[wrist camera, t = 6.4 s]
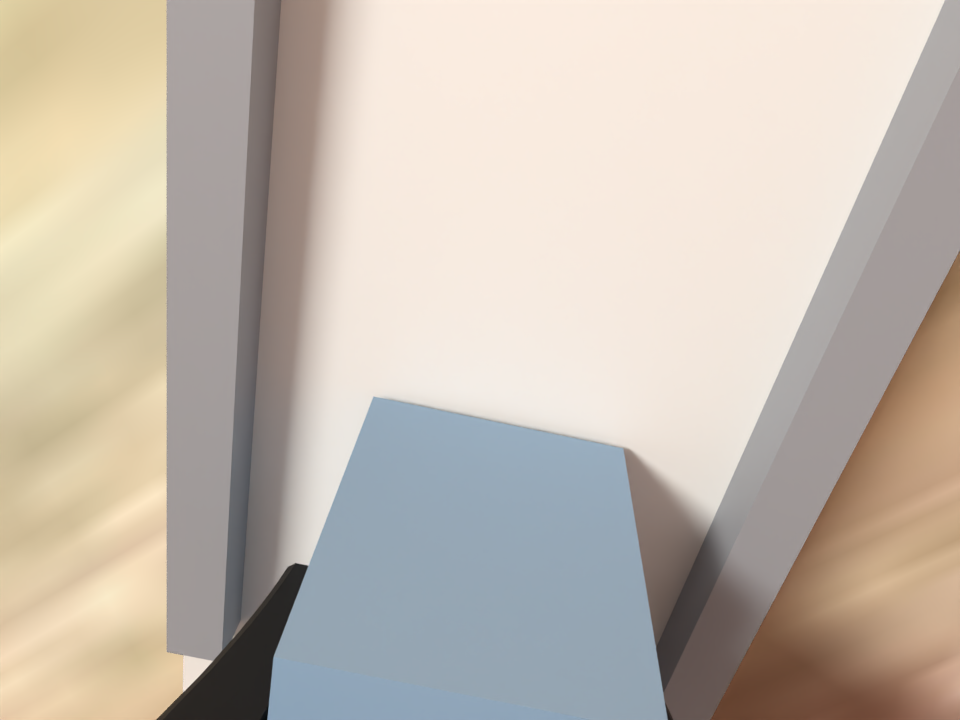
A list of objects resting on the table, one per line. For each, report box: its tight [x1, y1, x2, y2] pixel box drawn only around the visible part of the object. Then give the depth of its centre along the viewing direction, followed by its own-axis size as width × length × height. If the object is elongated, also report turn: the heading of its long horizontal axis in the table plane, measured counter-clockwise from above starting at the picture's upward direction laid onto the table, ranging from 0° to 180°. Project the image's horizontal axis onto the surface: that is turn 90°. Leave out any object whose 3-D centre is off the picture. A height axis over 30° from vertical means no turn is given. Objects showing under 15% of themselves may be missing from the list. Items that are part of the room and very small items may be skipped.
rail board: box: [167, 0, 960, 720], centre depth 11 cm, size 10×23×4 cm, turn 169°
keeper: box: [267, 396, 668, 720], centre depth 11 cm, size 4×6×5 cm, turn 169°
